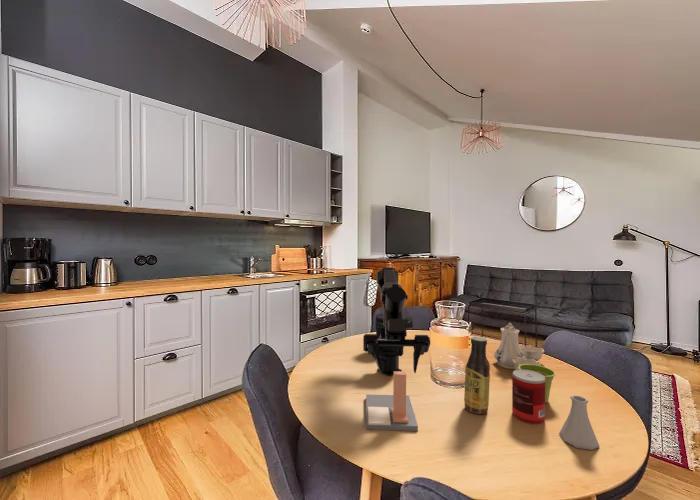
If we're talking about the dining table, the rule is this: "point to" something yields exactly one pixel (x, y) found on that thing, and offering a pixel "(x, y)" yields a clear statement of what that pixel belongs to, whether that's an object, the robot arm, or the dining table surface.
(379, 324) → the storage jar
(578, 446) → the flask
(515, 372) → the canned food
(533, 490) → the dining table surface
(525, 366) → the plant pot
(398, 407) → the stub
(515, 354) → the chinaware
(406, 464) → the dining table surface
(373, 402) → the ticket board
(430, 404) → the dining table surface
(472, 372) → the sauce bottle
